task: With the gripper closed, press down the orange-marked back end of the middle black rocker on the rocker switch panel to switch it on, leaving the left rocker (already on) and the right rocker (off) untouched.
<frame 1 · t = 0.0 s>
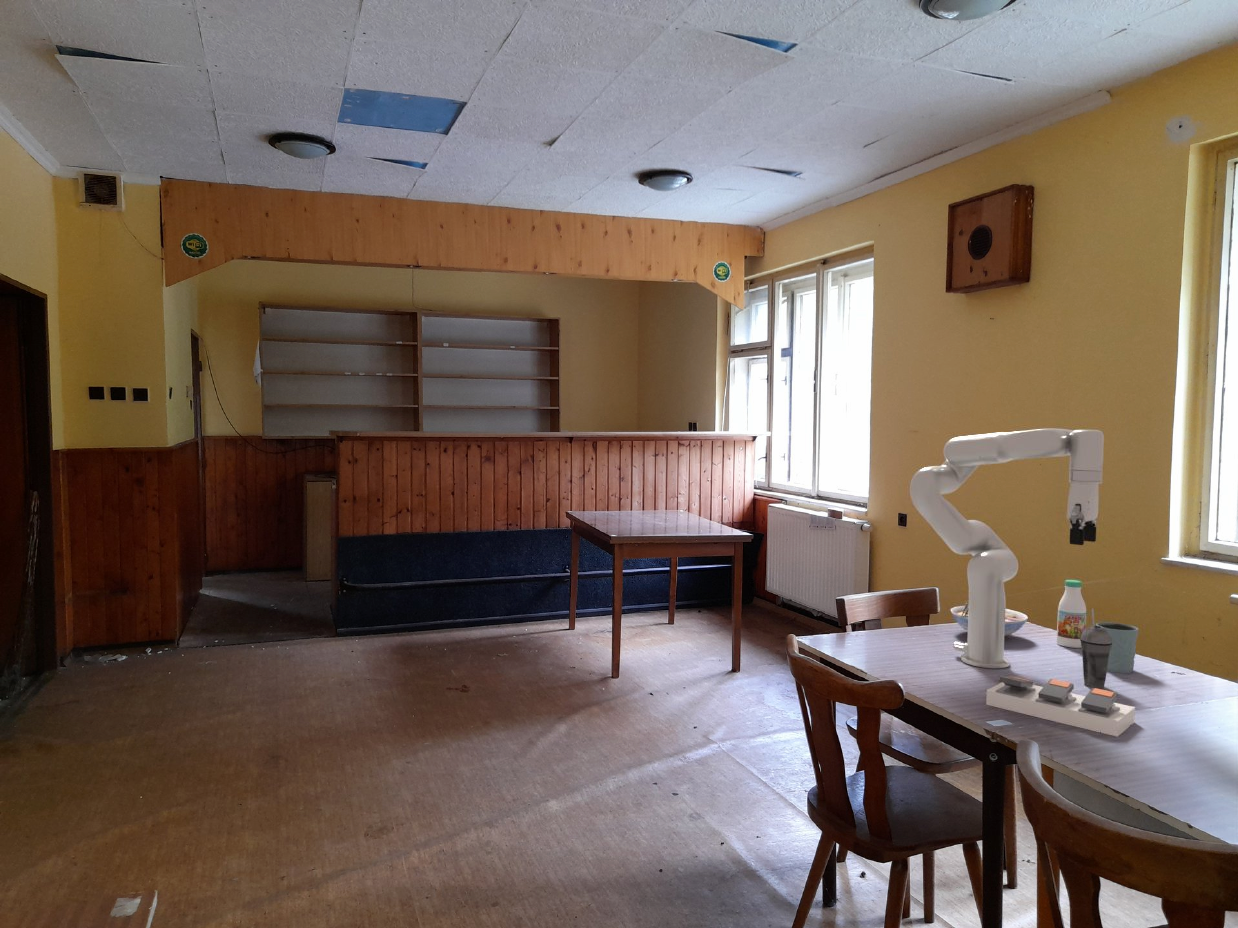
hand: (1082, 542, 220), 37 cm above the table, tool pointing down, fingers open, 9 cm apart
rocker switch panel: (1058, 713, 197), on the table
milk bottle: (1070, 645, 259), on the table
beverage cup: (1094, 686, 218), on the table
teal plant pot: (1115, 669, 235), on the table
ramen bowl: (987, 636, 269), on the table
left rocker: (1016, 682, 201), point 5 cm above the table, hinge at -12.0°
right rocker: (1099, 701, 188), point 5 cm above the table, hinge at 12.0°
middle rocker: (1056, 691, 195), point 5 cm above the table, hinge at 12.0°
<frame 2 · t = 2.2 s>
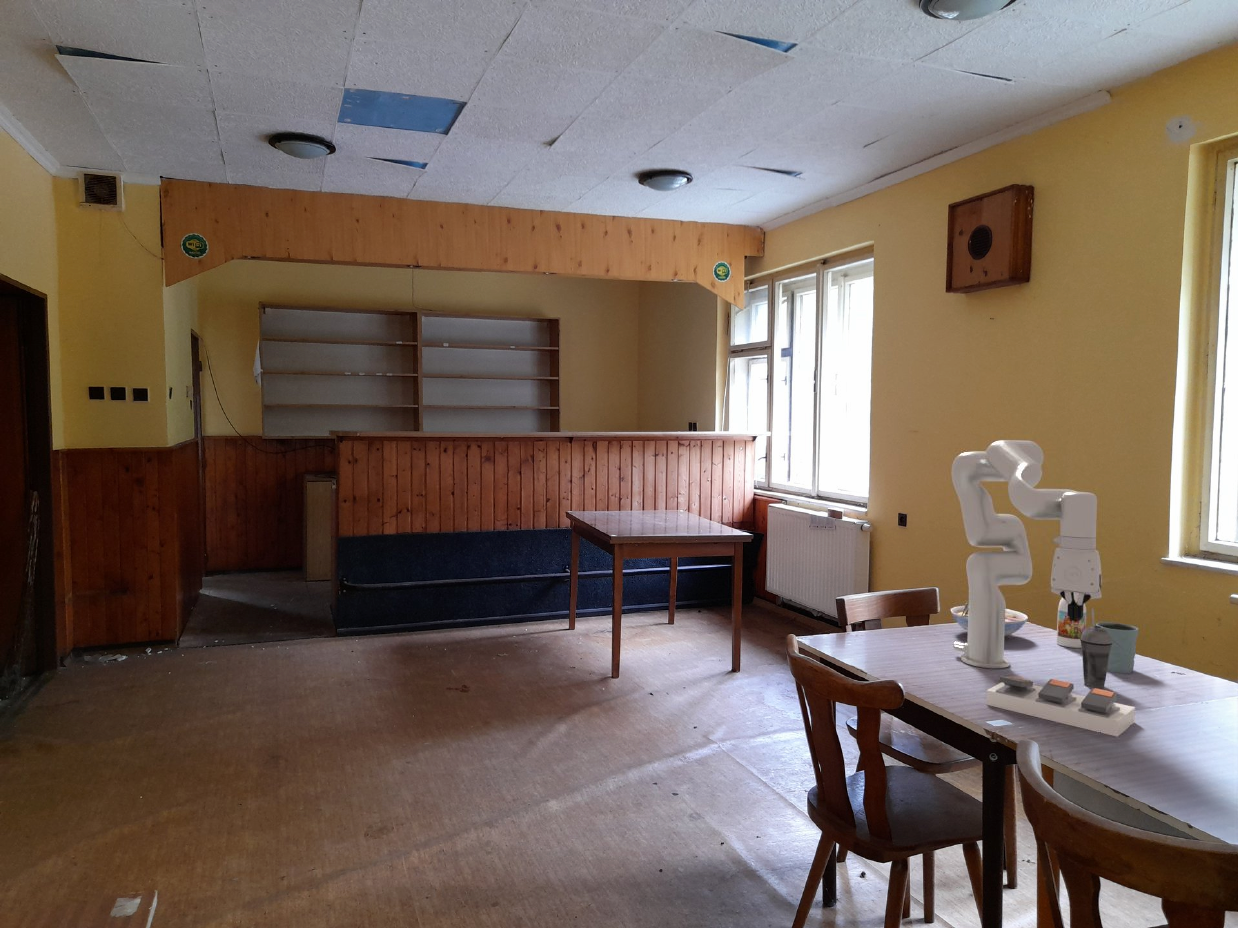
hand: (1075, 620, 201), 21 cm above the table, tool pointing down, fingers closed
nothing on the table moved.
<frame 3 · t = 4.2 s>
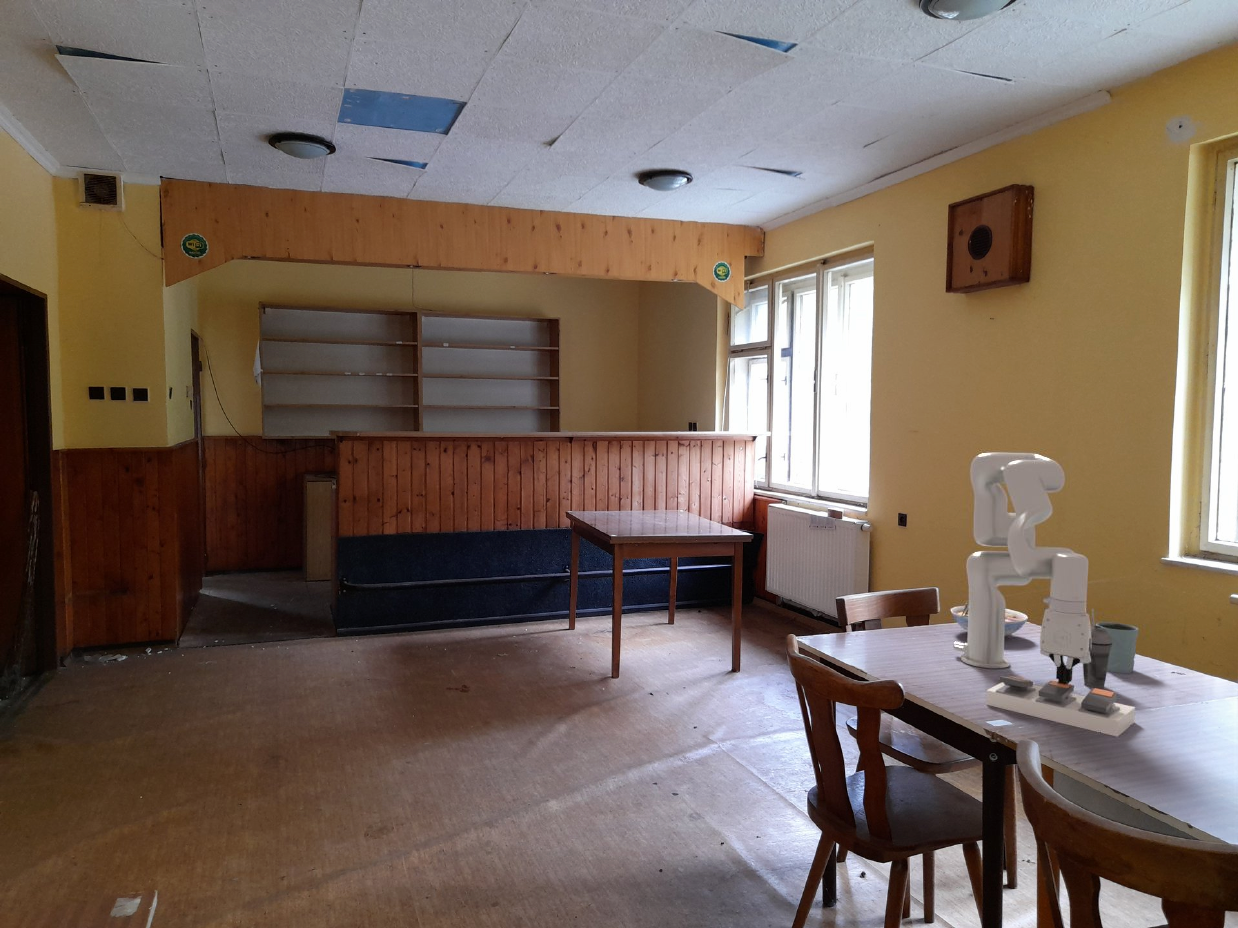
hand: (1063, 683, 198), 7 cm above the table, tool pointing down, fingers closed
middle rocker: (1056, 691, 195), point 5 cm above the table, hinge at 5.6°, touching gripper
everything else where it was.
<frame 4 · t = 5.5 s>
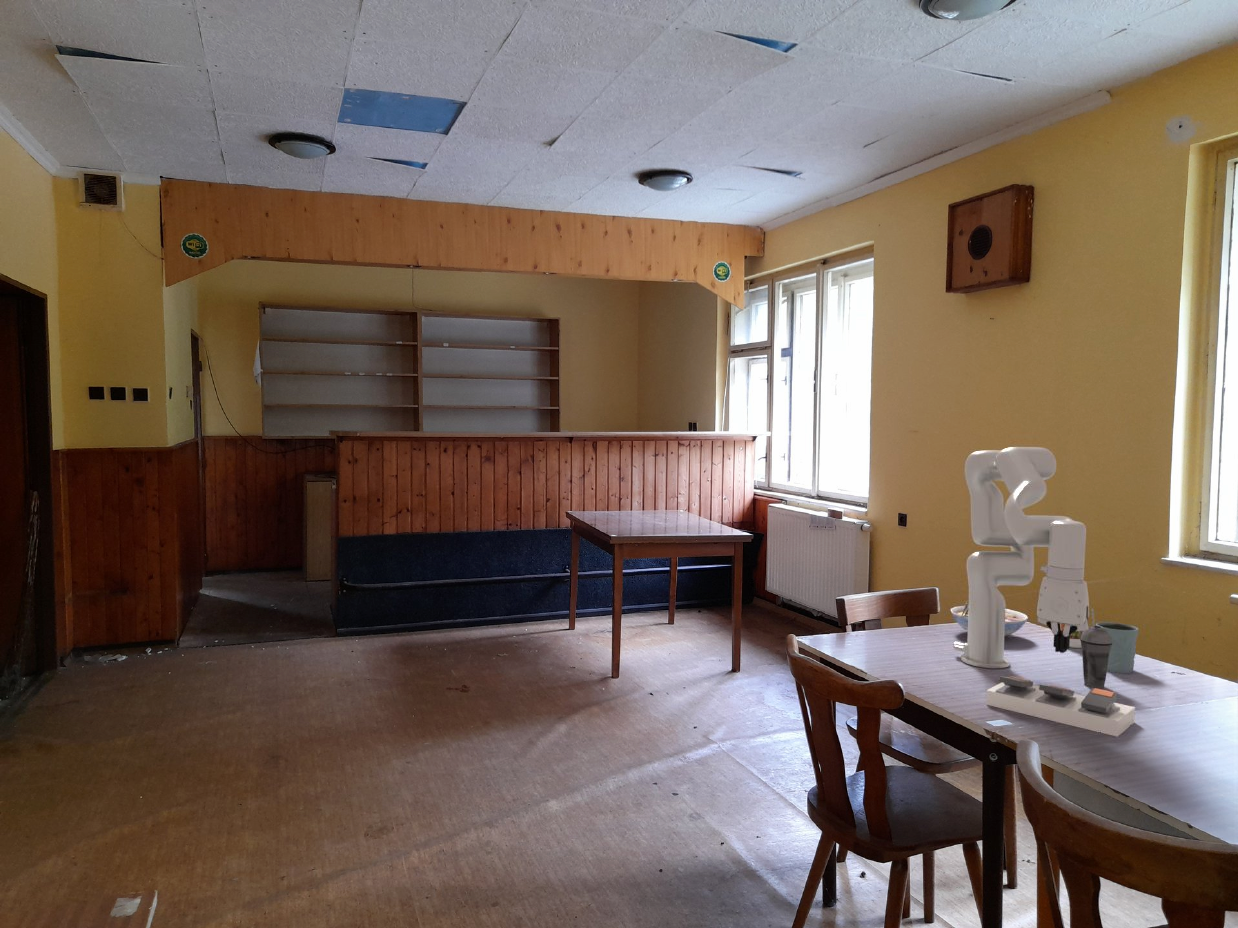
hand: (1061, 651, 197), 14 cm above the table, tool pointing down, fingers closed
middle rocker: (1056, 691, 195), point 5 cm above the table, hinge at -14.7°
everything else where it was.
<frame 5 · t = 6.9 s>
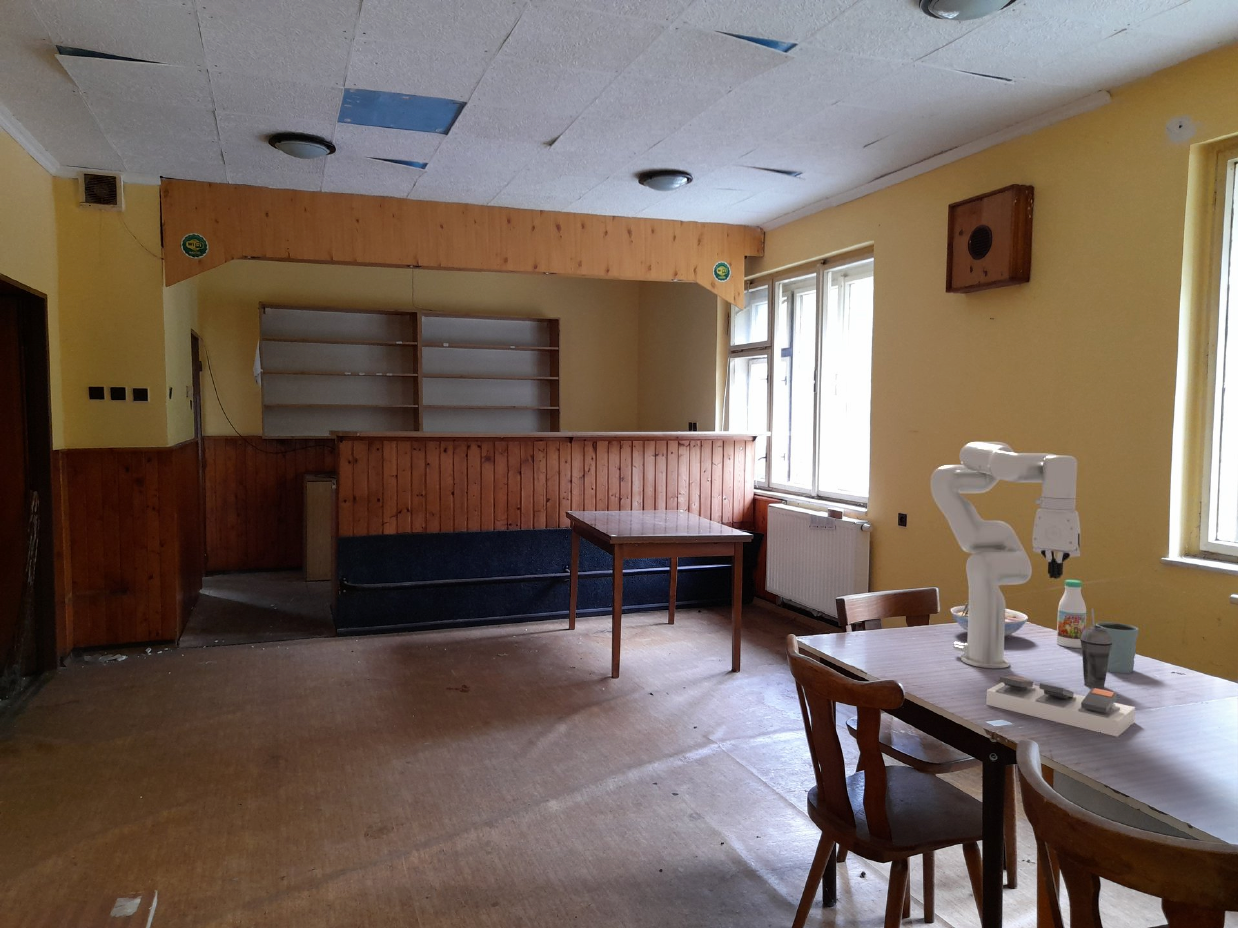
hand: (1055, 577, 211), 29 cm above the table, tool pointing down, fingers closed
middle rocker: (1056, 691, 195), point 5 cm above the table, hinge at -19.1°, touching rocker switch panel
everything else where it was.
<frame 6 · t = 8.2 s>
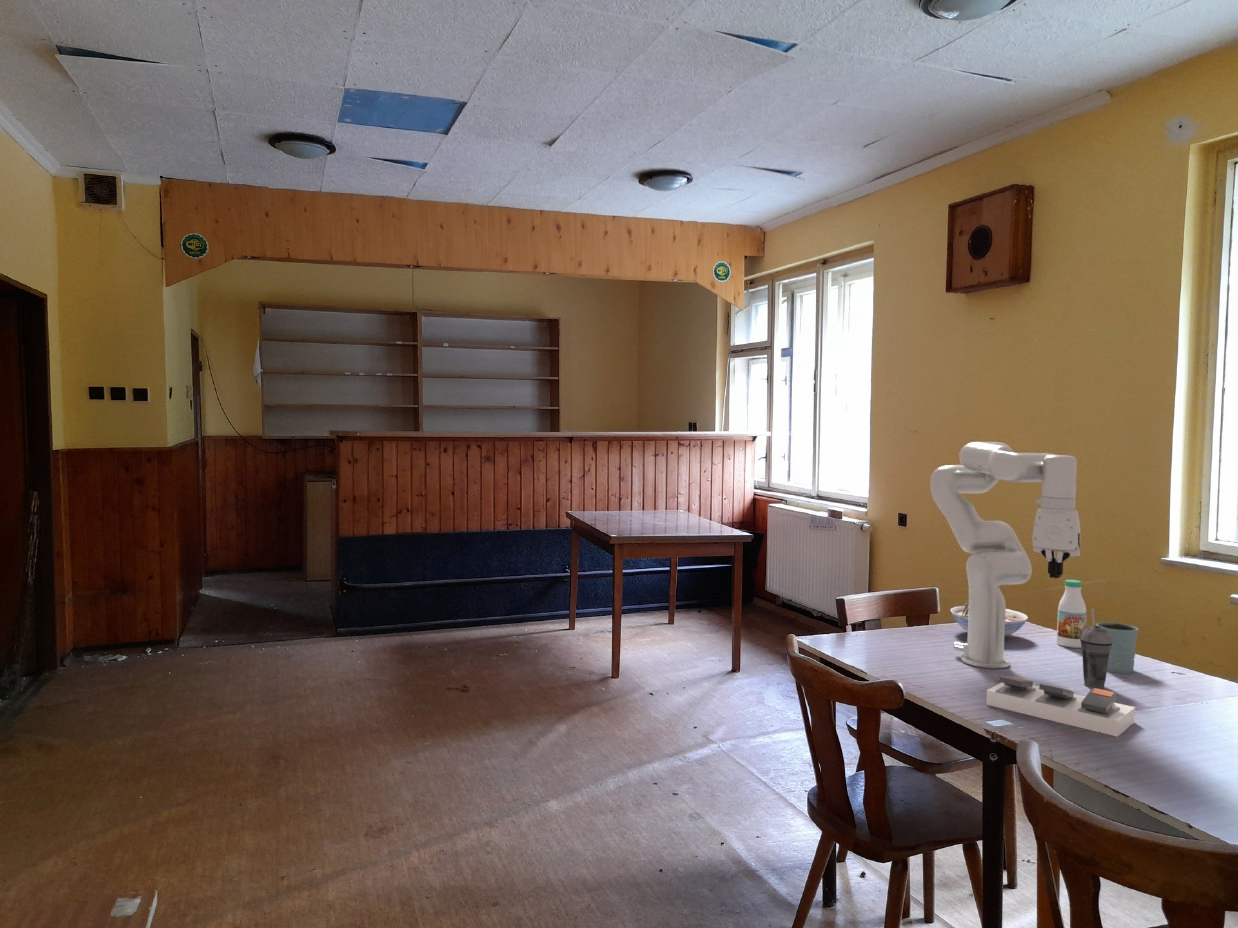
hand: (1055, 577, 211), 29 cm above the table, tool pointing down, fingers closed
middle rocker: (1056, 691, 195), point 5 cm above the table, hinge at -17.2°
everything else where it was.
at the end: middle rocker at -17° (first picture: +12°); left rocker at -12° (first picture: -12°); right rocker at +12° (first picture: +12°) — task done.
